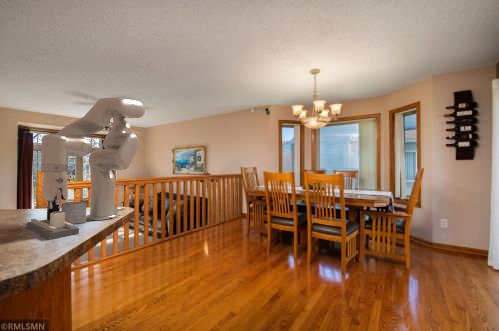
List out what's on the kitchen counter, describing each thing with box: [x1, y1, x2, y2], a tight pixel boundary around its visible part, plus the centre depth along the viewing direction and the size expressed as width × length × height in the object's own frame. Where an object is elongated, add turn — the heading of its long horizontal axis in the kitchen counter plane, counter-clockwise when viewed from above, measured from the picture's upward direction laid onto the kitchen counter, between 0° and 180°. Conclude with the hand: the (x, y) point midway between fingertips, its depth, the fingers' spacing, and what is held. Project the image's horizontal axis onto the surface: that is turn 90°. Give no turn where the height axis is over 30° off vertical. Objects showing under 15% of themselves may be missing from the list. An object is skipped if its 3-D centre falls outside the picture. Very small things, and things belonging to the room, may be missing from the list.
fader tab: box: [50, 210, 65, 228], centre depth 81 cm, size 3×3×6 cm
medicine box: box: [60, 201, 87, 225], centre depth 94 cm, size 8×4×9 cm, turn 135°
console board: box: [25, 218, 80, 240], centre depth 84 cm, size 8×24×3 cm, turn 58°
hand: (53, 219), depth 83 cm, fingers closed
